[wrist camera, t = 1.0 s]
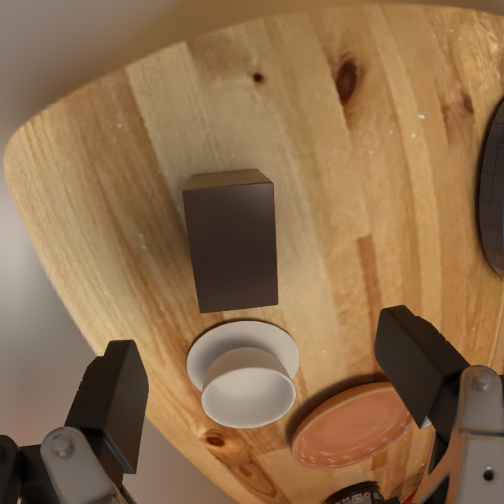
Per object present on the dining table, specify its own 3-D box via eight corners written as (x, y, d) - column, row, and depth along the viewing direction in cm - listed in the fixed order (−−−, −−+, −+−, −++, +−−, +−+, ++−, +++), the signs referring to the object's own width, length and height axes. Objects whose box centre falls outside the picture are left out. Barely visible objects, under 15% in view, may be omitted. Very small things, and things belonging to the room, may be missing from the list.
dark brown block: (190, 174, 20) (181, 190, 15) (257, 168, 21) (273, 181, 15) (202, 270, 23) (199, 314, 17) (263, 263, 23) (278, 305, 18)
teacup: (212, 301, 24) (212, 337, 20) (318, 336, 27) (335, 371, 22) (172, 384, 27) (169, 422, 23) (267, 408, 29) (274, 443, 25)
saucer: (279, 460, 34) (283, 478, 31) (298, 379, 28) (305, 401, 26) (386, 440, 36) (393, 455, 33) (428, 360, 30) (441, 375, 28)
